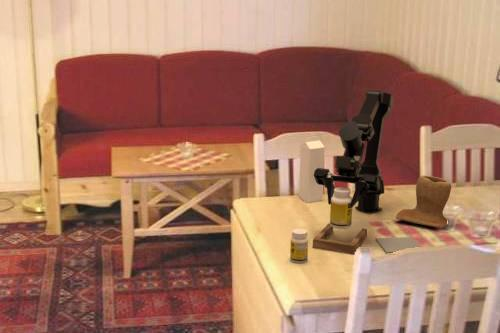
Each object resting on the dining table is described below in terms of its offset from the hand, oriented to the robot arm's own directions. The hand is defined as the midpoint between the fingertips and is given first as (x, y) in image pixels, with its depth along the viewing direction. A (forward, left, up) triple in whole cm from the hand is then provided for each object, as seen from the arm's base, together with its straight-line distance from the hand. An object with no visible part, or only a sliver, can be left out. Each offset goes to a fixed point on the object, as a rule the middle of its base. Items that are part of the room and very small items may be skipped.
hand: (340, 205), depth 212 cm
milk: (-20, -37, -12) cm, 44 cm away
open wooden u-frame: (-1, -1, -12) cm, 12 cm away
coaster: (-14, +11, -12) cm, 21 cm away
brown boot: (-35, +1, -12) cm, 37 cm away
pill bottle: (-1, -1, -7) cm, 7 cm away
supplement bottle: (+17, +3, -12) cm, 21 cm away
